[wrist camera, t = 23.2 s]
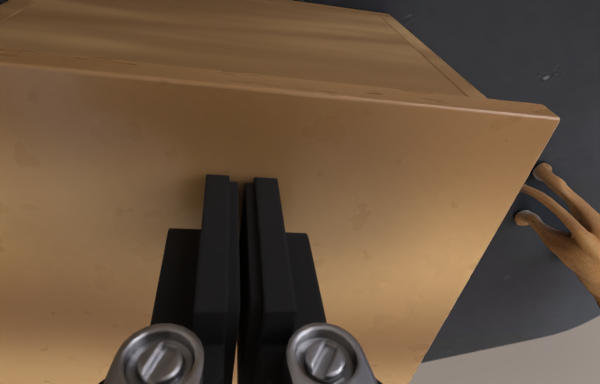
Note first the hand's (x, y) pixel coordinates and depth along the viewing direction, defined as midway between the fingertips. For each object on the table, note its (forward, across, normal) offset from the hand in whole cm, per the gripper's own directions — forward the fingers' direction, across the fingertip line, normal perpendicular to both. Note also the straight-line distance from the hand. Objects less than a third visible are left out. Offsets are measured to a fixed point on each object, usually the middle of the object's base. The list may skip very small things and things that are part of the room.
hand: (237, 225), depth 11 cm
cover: (+1, 0, +4) cm, 5 cm away
